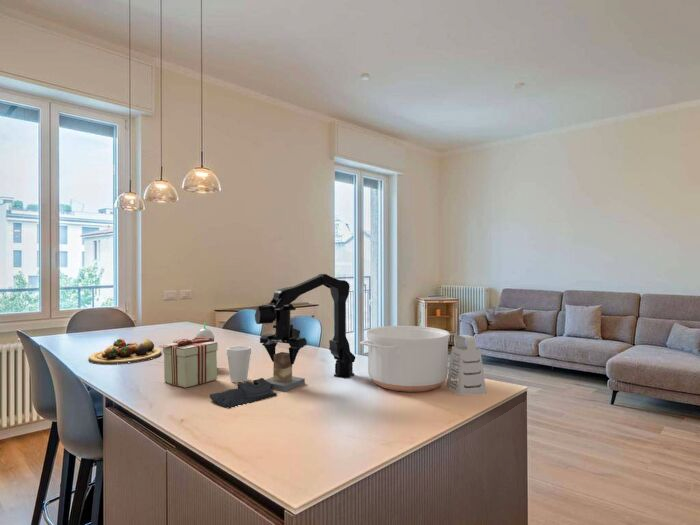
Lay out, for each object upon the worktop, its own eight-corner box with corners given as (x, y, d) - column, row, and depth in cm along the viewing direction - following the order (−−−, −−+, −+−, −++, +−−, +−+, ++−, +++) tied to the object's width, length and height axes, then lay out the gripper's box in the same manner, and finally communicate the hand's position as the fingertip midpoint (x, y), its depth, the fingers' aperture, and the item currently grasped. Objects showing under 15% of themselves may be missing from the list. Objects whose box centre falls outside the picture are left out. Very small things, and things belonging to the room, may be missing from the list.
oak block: (292, 379, 166) (292, 366, 166) (283, 382, 162) (283, 369, 162) (281, 377, 169) (281, 364, 169) (273, 380, 165) (273, 367, 165)
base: (304, 383, 168) (304, 378, 168) (285, 391, 157) (285, 386, 157) (280, 379, 174) (280, 374, 174) (260, 386, 163) (260, 381, 163)
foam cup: (236, 385, 165) (236, 351, 165) (221, 381, 171) (221, 348, 171) (255, 379, 173) (256, 347, 173) (241, 376, 178) (241, 344, 178)
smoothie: (217, 365, 197) (217, 321, 197) (209, 369, 189) (209, 323, 189) (199, 364, 198) (199, 320, 198) (191, 369, 190) (191, 323, 190)
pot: (408, 367, 194) (408, 322, 194) (471, 381, 172) (471, 330, 172) (340, 385, 165) (340, 332, 165) (406, 405, 143) (406, 344, 143)
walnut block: (292, 366, 166) (292, 353, 166) (283, 369, 162) (283, 355, 162) (281, 364, 169) (282, 351, 169) (273, 367, 165) (273, 354, 165)
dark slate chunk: (203, 400, 148) (203, 387, 148) (256, 387, 165) (256, 374, 165) (227, 411, 138) (227, 396, 138) (282, 395, 154) (282, 382, 154)
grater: (460, 395, 154) (460, 339, 153) (446, 387, 164) (446, 334, 164) (486, 393, 156) (486, 337, 156) (470, 385, 166) (471, 333, 166)
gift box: (189, 373, 183) (189, 332, 183) (220, 379, 173) (220, 336, 173) (153, 383, 168) (153, 338, 168) (184, 390, 159) (184, 343, 159)
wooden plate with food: (92, 354, 221) (92, 338, 221) (160, 348, 235) (160, 333, 235) (84, 369, 192) (84, 351, 192) (162, 361, 206) (162, 344, 206)
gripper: (315, 321, 168) (315, 361, 168) (277, 318, 177) (277, 356, 177) (297, 325, 158) (297, 367, 158) (258, 321, 168) (258, 361, 168)
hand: (282, 362), depth 166 cm, fingers open, 9 cm apart
